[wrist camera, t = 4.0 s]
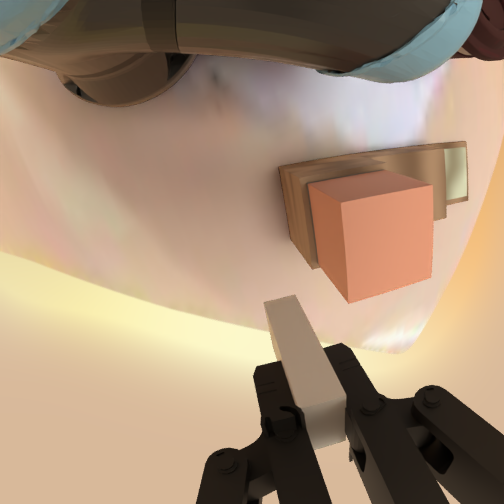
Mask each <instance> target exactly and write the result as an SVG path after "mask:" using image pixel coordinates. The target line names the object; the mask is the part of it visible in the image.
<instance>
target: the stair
mask: <svg viewBox="0 0 504 504" xmlns="http://www.w3.org/2000/svg"><path fill="white" fill-rule="evenodd" d="M382 169H384V170H387V171H391V172H394V173H397V174H400V175H404V176H407V177H410V178H413V179H416V180H420V181H423V182H426V183H429V184H432V185H433V221H436V220H440V219H444V218H446V205H450V204H455V203H459V202H463V201H468V161H467V144H466V141H461V142H449V143H438V144H428V145H418V146H409V147H400V148H392V149H384V150H377V151H369V152H362V153H355V154H349V155H342V156H336V157H330V158H324V159H318V160H312V161H306V162H301V163H295V164H290V165H285V166H279V173H280V179H281V184H282V190H283V196H284V202H285V207H286V213H287V219H288V225H289V232H290V238H291V241H292V242H293V243H294V245H295V246H296V248H297V249H298V250H299V252H300V253H301V254H302V256H303V257H304V259H305V260H306V261H307V263H308V264H309V266H310V267H311V268H312V269H316V268H320V266H319V265H318V263H317V257H316V249H315V241H314V233H313V226H312V218H311V211H310V204H309V198H308V191H307V184H306V183H308V182H314V181H319V180H324V179H330V178H335V177H341V176H346V175H352V174H358V173H364V172H370V171H376V170H382Z"/></svg>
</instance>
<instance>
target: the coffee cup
mask: <svg viewBox="0 0 504 504" xmlns="http://www.w3.org/2000/svg"><path fill="white" fill-rule="evenodd" d="M472 57H476V58H478V59H481V60H484V61H495V60H502V59H504V0H483V3H482V7H481V11H480V14H479V17H478V20H477V22H476V24H475V26H474V28H473V30H472V32H471V34H470V35H469V37H468V38H467V40H466V41H465V42H464V44H463V45H462V46H461V47H460V49H459V50H458V51H457V52H456V53H455V54H454V55H453V56H452V57H451V58H450V59H453V58H472Z"/></svg>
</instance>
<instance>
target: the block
mask: <svg viewBox="0 0 504 504" xmlns="http://www.w3.org/2000/svg"><path fill="white" fill-rule="evenodd" d="M306 184H307V191H308V198H309V204H310V211H311V218H312V226H313V233H314V241H315V249H316V257H317V263H318V265H319V266H320V267H321V268H322V270H323V271H324V272H325V274H326V275H327V276H328V278H329V279H330V280H331V281H332V283H333V284H334V285H335V287H336V288H337V289H338V291H339V292H340V293H341V294H342V296H343V297H344V298H345V300H346V301H347V302H348V304H349V303H353V302H356V301H360V300H363V299H366V298H370V297H373V296H376V295H379V294H383V293H386V292H389V291H392V290H395V289H398V288H401V287H404V286H408V285H411V284H414V283H417V282H420V281H422V280H425V279H428V278H431V273H432V255H433V185H432V184H429V183H426V182H423V181H420V180H416V179H413V178H410V177H407V176H404V175H400V174H397V173H394V172H391V171H387V170H384V169H382V170H376V171H370V172H364V173H358V174H352V175H346V176H341V177H335V178H330V179H324V180H319V181H314V182H308V183H306Z"/></svg>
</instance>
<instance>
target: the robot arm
mask: <svg viewBox="0 0 504 504" xmlns="http://www.w3.org/2000/svg"><path fill="white" fill-rule="evenodd" d="M482 3H483V0H0V57H4V58H8V59H12V60H16V61H20V62H23V63H27V64H31V65H34V66H38V67H41V68H45V69H48V70H52V71H55V72H56V74H57V75H58V77H59V79H60V81H61V82H62V84H63V85H64V86H65V87H66V88H67V89H68V90H69V91H70V92H71V93H73V94H74V95H75V96H77V97H78V98H80V99H82V100H84V101H87V102H90V103H93V104H97V105H102V106H109V107H124V106H131V105H135V104H139V103H142V102H145V101H148V100H150V99H152V98H154V97H156V96H158V95H160V94H161V93H163V92H165V91H166V90H167V89H169V88H170V87H171V86H173V85H174V84H175V83H176V82H177V81H178V80H179V79H180V78H181V77H182V76H183V75H184V74H185V73H186V71H187V70H188V69H189V67H190V66H191V64H192V63H193V61H194V59H195V57H196V55H197V54H202V55H217V56H229V57H239V58H248V59H256V60H264V61H271V62H278V63H284V64H290V65H295V66H301V67H306V68H311V69H315V70H316V71H317V72H318V73H321V74H325V75H329V76H335V77H343V76H351V77H356V78H361V79H365V80H369V81H373V82H379V83H394V82H407V81H410V80H414V79H417V78H420V77H422V76H424V75H426V74H428V73H430V72H432V71H434V70H435V69H437V68H438V67H440V66H441V65H442V64H444V63H445V62H446V61H447V60H449V59H450V58H451V57H452V56H453V55H454V54H455V53H456V52H457V51H458V50H459V49H460V47H461V46H462V45H463V44H464V42H465V41H466V40H467V38H468V37H469V35H470V34H471V32H472V30H473V28H474V26H475V24H476V22H477V20H478V17H479V14H480V11H481V7H482ZM264 306H265V311H266V316H267V321H268V325H269V330H270V335H271V340H272V344H273V348H274V352H275V355H276V358H277V362H272V363H268V364H265V365H260V366H257V367H256V369H255V372H254V375H253V378H254V383H255V388H256V393H257V398H258V403H259V407H260V412H261V428H262V434H261V435H260V437H259V438H258V439H257V440H256V441H255V442H254V443H252V444H251V445H249V446H247V447H245V448H243V449H241V450H238V449H234V448H224V449H220V450H218V451H216V452H214V453H213V454H212V455H210V456H209V458H208V459H207V461H206V463H205V468H204V472H203V476H202V480H201V484H200V489H199V493H198V497H197V501H196V504H262V497H263V496H265V495H267V494H269V493H271V492H273V491H275V490H277V494H278V499H279V503H280V504H332V502H331V499H330V496H329V493H328V490H327V487H326V485H325V482H324V479H323V476H322V473H321V470H320V467H319V464H318V461H317V458H316V455H315V453H314V450H316V449H319V448H323V447H326V446H329V445H333V444H336V443H339V442H342V441H345V440H346V435H347V438H348V440H349V442H350V448H349V460H350V462H351V461H352V460H354V462H355V465H356V467H357V469H358V472H359V474H360V477H361V479H362V481H363V483H364V486H365V488H366V491H367V493H368V496H369V498H370V500H371V503H372V504H449V502H448V500H447V498H446V496H445V495H444V493H443V491H442V489H441V488H440V486H439V484H438V483H437V481H438V482H439V483H440V484H441V485H442V486H443V487H444V488H445V489H446V490H447V491H448V492H449V493H450V494H451V495H453V497H454V498H456V500H458V502H460V503H461V504H504V435H503V434H502V433H501V432H499V431H498V430H496V429H495V428H494V427H493V426H492V425H490V424H489V423H488V422H486V421H485V420H484V419H483V418H481V417H480V416H479V415H477V414H476V413H475V412H474V411H472V410H471V409H470V408H468V407H467V406H466V405H465V404H463V403H462V402H461V401H460V400H458V399H457V398H456V397H454V396H453V395H452V394H451V393H449V392H448V391H447V390H445V389H443V388H442V387H440V386H435V385H429V386H425V387H423V388H421V389H419V390H418V391H417V392H416V394H415V396H414V397H411V398H404V399H390V398H386V397H385V396H384V395H382V394H379V393H378V392H377V391H376V389H375V388H374V386H373V384H372V383H371V381H370V379H369V378H368V376H367V374H366V373H365V371H364V369H363V368H362V366H361V365H360V363H359V361H358V360H357V359H356V356H355V355H354V353H353V351H352V350H351V349H350V348H349V347H347V346H346V345H344V344H343V343H339V344H336V345H332V346H329V347H326V348H322V346H321V344H320V342H319V340H318V338H317V336H316V334H315V332H314V330H313V328H312V326H311V324H310V322H309V321H308V319H307V317H306V315H305V313H304V311H303V309H302V307H301V305H300V303H299V301H298V299H297V297H296V295H292V296H288V297H284V298H280V299H276V300H271V301H267V302H264Z"/></svg>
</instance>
